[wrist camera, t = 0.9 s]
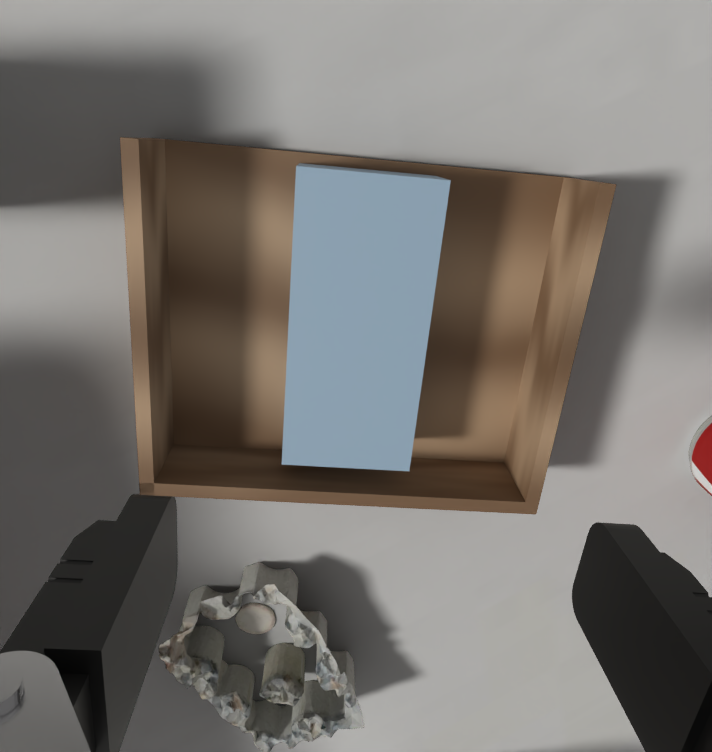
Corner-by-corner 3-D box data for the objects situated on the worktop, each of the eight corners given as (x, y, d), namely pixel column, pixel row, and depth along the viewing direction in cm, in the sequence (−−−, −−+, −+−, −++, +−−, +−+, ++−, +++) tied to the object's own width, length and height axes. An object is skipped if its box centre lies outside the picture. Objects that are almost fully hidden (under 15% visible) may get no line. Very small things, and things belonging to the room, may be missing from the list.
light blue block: (299, 163, 23) (296, 166, 20) (436, 175, 24) (450, 180, 21) (286, 431, 28) (281, 464, 25) (401, 438, 28) (409, 471, 25)
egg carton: (167, 589, 32) (145, 650, 28) (292, 542, 31) (287, 598, 27) (255, 714, 36) (246, 782, 32) (368, 675, 35) (373, 740, 31)
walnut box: (153, 138, 23) (119, 137, 19) (572, 177, 24) (616, 184, 21) (164, 448, 28) (140, 494, 25) (509, 467, 30) (536, 514, 26)
